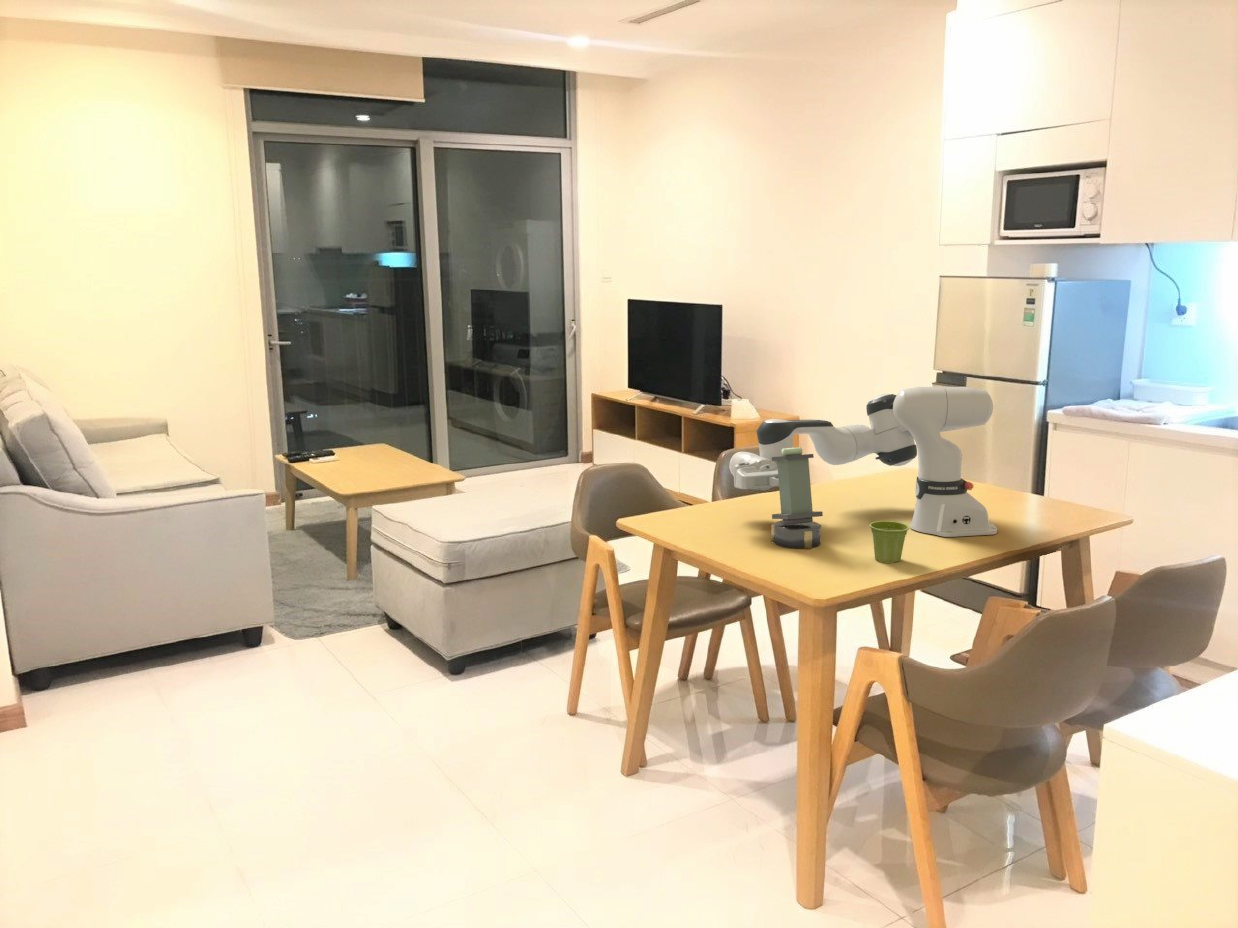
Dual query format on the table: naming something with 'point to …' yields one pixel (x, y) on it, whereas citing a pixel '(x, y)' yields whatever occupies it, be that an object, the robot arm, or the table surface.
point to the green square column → (794, 487)
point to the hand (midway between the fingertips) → (785, 483)
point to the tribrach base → (796, 535)
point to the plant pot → (888, 540)
